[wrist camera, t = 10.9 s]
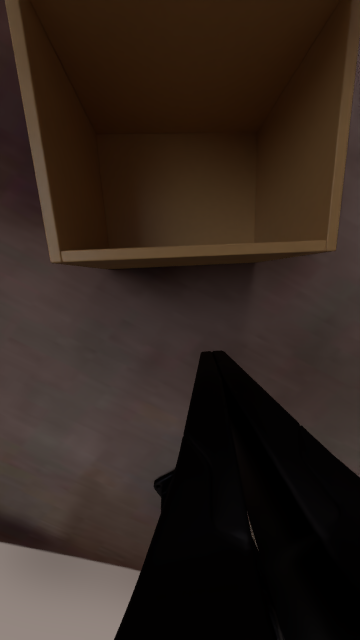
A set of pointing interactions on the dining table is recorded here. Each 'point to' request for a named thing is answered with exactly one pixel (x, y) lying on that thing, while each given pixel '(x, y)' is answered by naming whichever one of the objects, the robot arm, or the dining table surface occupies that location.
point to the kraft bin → (187, 126)
